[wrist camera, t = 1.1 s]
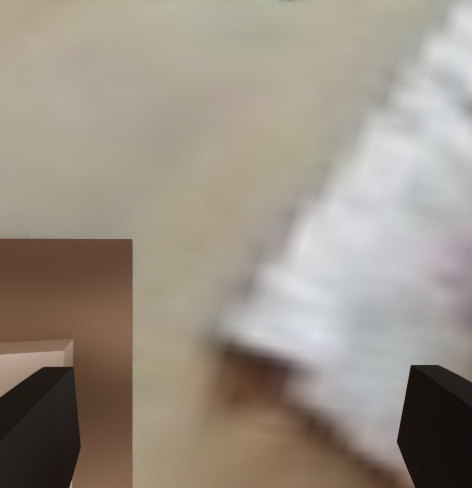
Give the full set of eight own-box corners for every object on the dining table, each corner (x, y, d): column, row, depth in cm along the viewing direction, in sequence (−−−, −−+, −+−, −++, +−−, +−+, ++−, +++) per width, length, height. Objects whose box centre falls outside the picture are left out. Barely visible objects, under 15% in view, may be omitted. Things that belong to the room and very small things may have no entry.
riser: (132, 557, 18) (131, 638, 14) (-105, 601, 16) (-182, 709, 12) (132, 244, 19) (131, 239, 15) (-96, 244, 17) (-166, 238, 13)
